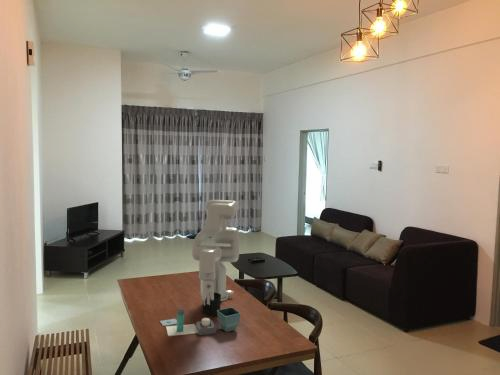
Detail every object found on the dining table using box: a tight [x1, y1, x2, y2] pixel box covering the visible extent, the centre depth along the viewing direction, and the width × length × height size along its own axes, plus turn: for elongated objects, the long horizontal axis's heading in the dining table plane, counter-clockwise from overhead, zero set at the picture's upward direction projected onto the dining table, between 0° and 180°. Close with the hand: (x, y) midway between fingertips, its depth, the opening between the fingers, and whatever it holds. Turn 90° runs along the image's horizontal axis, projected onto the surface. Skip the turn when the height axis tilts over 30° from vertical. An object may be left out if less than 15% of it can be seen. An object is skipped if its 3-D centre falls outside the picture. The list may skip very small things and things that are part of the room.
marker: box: [176, 307, 185, 332], centre depth 195 cm, size 3×3×10 cm
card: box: [159, 318, 177, 327], centre depth 205 cm, size 8×6×1 cm
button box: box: [195, 320, 216, 336], centre depth 197 cm, size 8×8×3 cm
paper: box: [165, 323, 198, 337], centre depth 197 cm, size 14×10×1 cm
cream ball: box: [201, 317, 211, 327], centre depth 197 cm, size 4×4×4 cm
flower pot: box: [216, 306, 242, 333], centre depth 199 cm, size 9×9×9 cm
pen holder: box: [204, 293, 222, 317], centre depth 218 cm, size 9×9×10 cm
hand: (205, 312), depth 196 cm, fingers closed
